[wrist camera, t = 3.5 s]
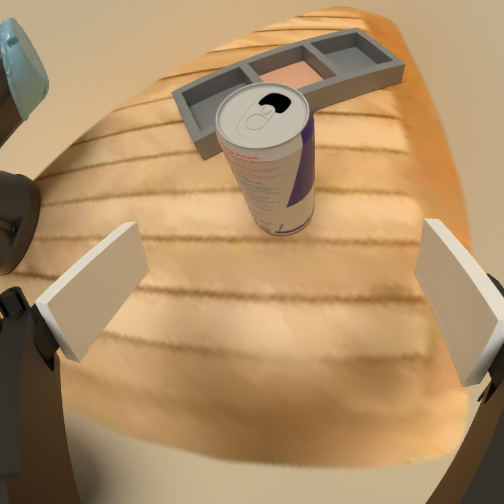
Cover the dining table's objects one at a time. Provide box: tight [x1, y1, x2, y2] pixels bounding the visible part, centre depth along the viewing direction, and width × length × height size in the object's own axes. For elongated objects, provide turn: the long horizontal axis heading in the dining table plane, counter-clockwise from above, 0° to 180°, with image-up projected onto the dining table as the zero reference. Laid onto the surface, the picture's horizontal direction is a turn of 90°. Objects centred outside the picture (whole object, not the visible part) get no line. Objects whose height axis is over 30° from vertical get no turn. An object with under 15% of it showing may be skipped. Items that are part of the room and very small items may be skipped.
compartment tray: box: [171, 28, 405, 160], centre depth 28 cm, size 25×9×3 cm, turn 114°
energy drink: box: [215, 82, 315, 235], centre depth 20 cm, size 5×5×12 cm
